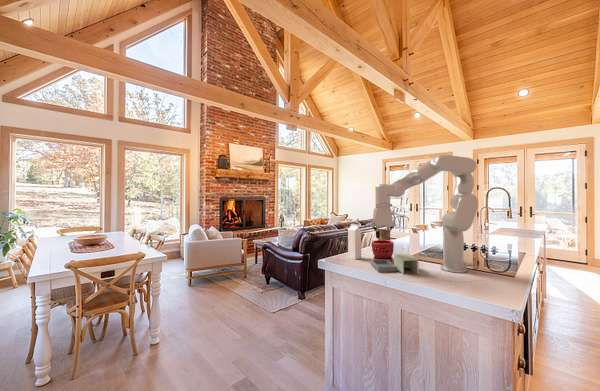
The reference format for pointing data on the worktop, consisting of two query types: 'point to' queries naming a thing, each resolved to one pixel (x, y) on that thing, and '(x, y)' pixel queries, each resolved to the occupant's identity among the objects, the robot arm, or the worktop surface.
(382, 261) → the tray
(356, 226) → the milk
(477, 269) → the worktop surface
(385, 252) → the plant pot
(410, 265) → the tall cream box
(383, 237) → the block
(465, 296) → the worktop surface
